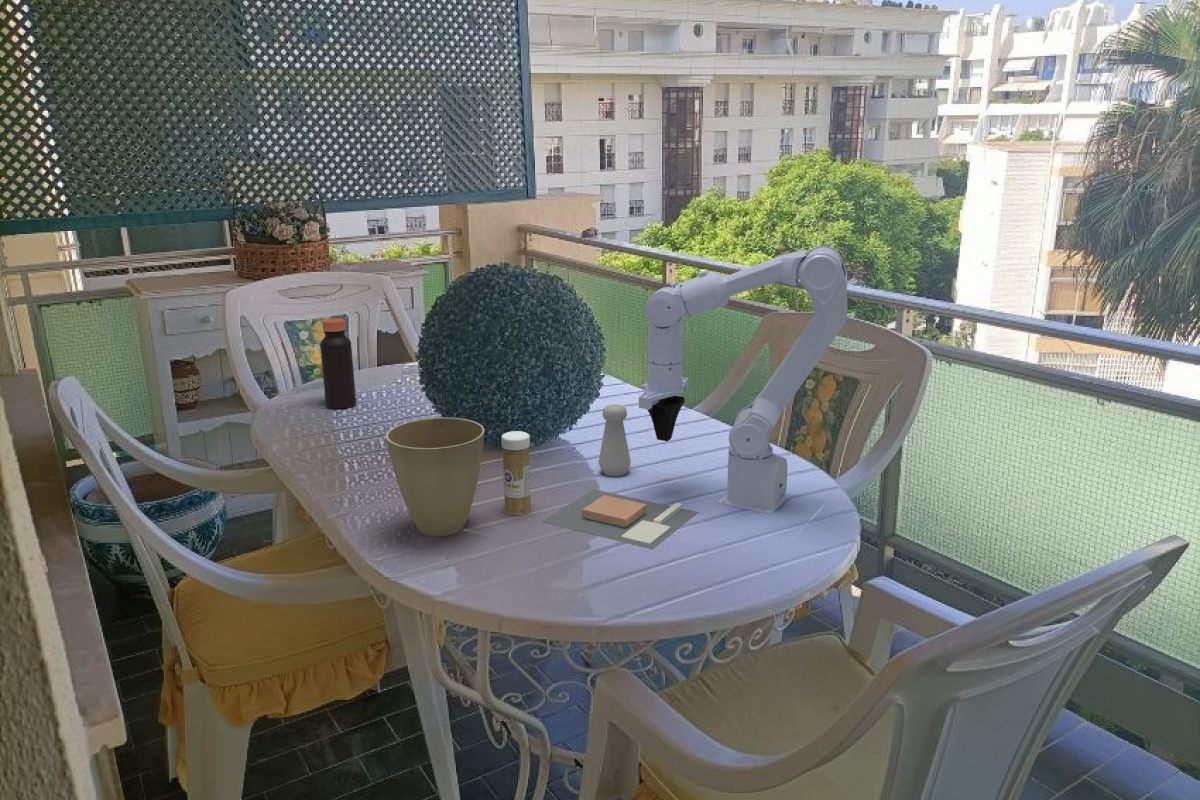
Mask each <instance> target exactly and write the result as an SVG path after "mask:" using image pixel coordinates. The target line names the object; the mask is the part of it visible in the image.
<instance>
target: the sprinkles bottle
mask: <svg viewBox="0 0 1200 800" xmlns="http://www.w3.org/2000/svg"><path fill="white" fill-rule="evenodd" d="M530 445H531V436H530V434H529V433H527V431H525V432H524V431H521V430H518V431H517V430H513V431H508V432H505V433H503V434H502V435H501V448H502V462H503V463H502V465H503V466H502V467H503V479H502V480H503V494H504V498H503V499H504V508H503V512H504V513H505V514H506V515H508V516H524V515H527V514H530V513H531V512H532V507H531V506H532V505H531V491H532V489H531V464H530V463H531V462H530Z"/></svg>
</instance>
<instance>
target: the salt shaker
mask: <svg viewBox="0 0 1200 800" xmlns="http://www.w3.org/2000/svg"><path fill="white" fill-rule="evenodd" d="M627 411H628V410H627V408H626V406H624V405H621V404H617V403H616V404H614V403H613V404H608V405H606V406H605V407H604V408H603V409H602V418H603V420H605V425H604V431H603V435H602V441H601V446H600V450H599V455H598V457H599V458H598V465H599V467H600V470H601V472H602V474H604V475H605V476H607V477H613V478H614V477H616V478H617V477H618V478H619V477H622V476H625V475H627V473H628V471H629V468H630V466H631V463H632V461H631V456H630V450H629V445H628V440H627V435H626V430H625V426H624V421H625V420H626V419H627V416H628V412H627Z"/></svg>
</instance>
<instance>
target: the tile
mask: <svg viewBox="0 0 1200 800" xmlns="http://www.w3.org/2000/svg"><path fill="white" fill-rule="evenodd" d="M646 512H647V504H643V503H638V502H634V501H629V500H625V499H620V498H616V497H611V496H606V495H604V496H602V497H601V498H599V499H598V500H596V501H594V502H593V503H591V504H590V505H588V506H587V507H585V508H583V509H582V517H584V519H588V520H592V521H597V522H601V523H605V524H609V525H613V526H618V527H622V528H626V527H628V526H629V525H630V524H632V523H633V522H635V521H636V520H637V519H639V518H640V517H641V516H643V515H644V514H645V513H646Z"/></svg>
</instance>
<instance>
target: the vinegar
mask: <svg viewBox="0 0 1200 800" xmlns="http://www.w3.org/2000/svg"><path fill="white" fill-rule="evenodd" d="M321 324H322V331H323V334H324V337H323V339H321V341H320V343H319V347H320V348H319V350H320V358H321V369H322V378H323V386H324V387H323V389H324V399H325V400H324V401H325V406H326V408H327V409H330V408H332V409H331V410H344V409H343V408H346V409H350V408H349V407H351V408H353V407H355V406H356V405H357V398H356V397H357V394H356V383H355V374H354V373H355V372H354V363H353V362H354V361H353V351H352V350H353V348H352V341H351V339H349V337H347V335H345V332H346V319H344V318H338V317H337V318H333V317H332V318H326V319H324V320H322V322H321ZM354 405H355V406H354ZM352 406H353V407H352Z"/></svg>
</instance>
